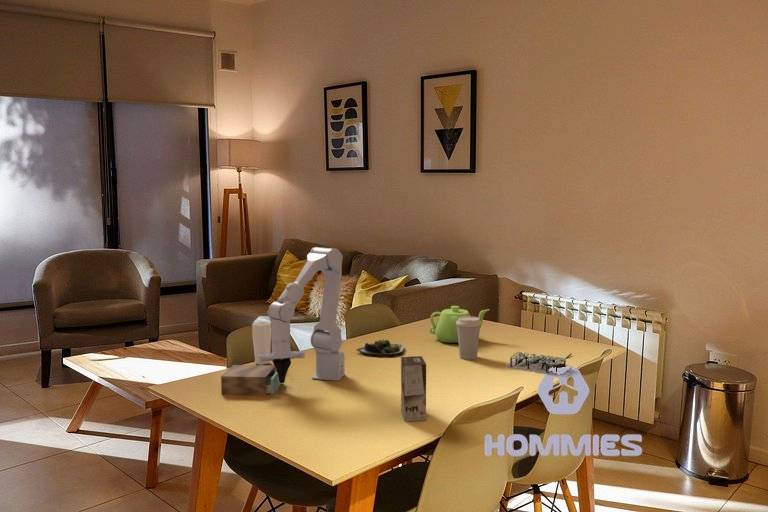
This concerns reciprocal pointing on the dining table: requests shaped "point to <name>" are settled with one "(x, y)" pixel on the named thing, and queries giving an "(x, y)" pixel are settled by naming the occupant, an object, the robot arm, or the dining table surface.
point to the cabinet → (246, 379)
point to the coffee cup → (468, 337)
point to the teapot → (450, 323)
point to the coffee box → (413, 388)
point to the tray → (272, 383)
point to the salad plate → (381, 349)
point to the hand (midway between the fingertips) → (281, 382)
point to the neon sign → (536, 363)
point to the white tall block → (261, 340)
